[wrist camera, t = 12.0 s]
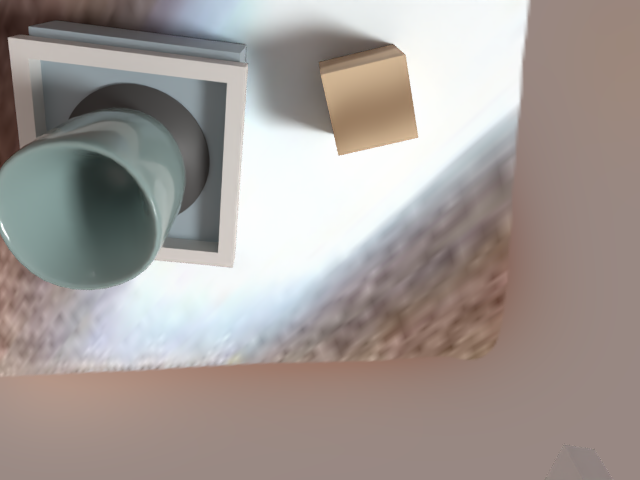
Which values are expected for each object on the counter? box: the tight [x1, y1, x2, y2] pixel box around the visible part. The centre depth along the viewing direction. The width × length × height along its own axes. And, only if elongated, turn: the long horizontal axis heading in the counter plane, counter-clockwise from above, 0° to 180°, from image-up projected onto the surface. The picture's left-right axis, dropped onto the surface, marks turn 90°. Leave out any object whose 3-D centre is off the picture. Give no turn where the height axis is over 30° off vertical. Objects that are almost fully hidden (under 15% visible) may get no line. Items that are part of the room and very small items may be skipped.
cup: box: [0, 107, 186, 290], centre depth 31 cm, size 8×8×10 cm
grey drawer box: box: [8, 20, 248, 268], centre depth 37 cm, size 15×13×6 cm
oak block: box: [319, 44, 418, 155], centre depth 36 cm, size 5×5×5 cm
